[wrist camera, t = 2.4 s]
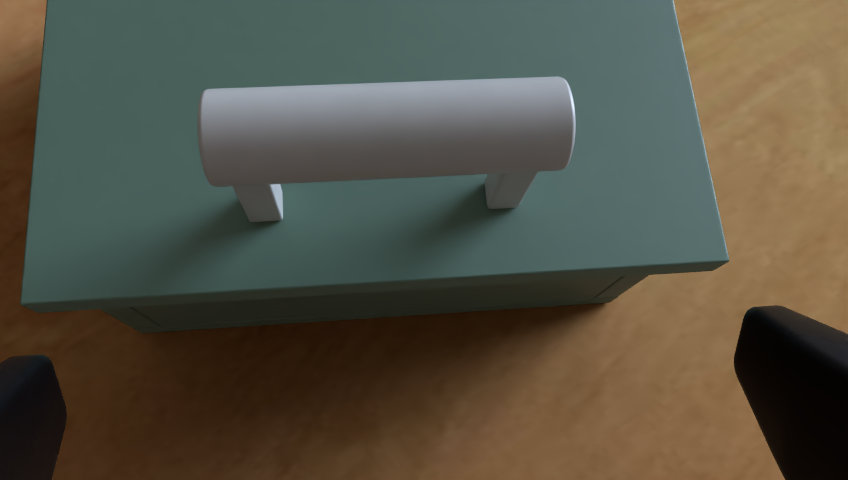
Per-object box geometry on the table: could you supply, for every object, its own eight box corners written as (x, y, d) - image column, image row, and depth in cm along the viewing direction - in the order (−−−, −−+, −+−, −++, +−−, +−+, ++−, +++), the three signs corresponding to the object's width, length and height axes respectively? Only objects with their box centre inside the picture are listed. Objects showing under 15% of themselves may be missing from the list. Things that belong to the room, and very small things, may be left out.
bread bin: (610, 302, 23) (705, 238, 16) (140, 333, 21) (41, 276, 15) (560, -6, 26) (623, -160, 20) (152, 4, 25) (75, -158, 18)
